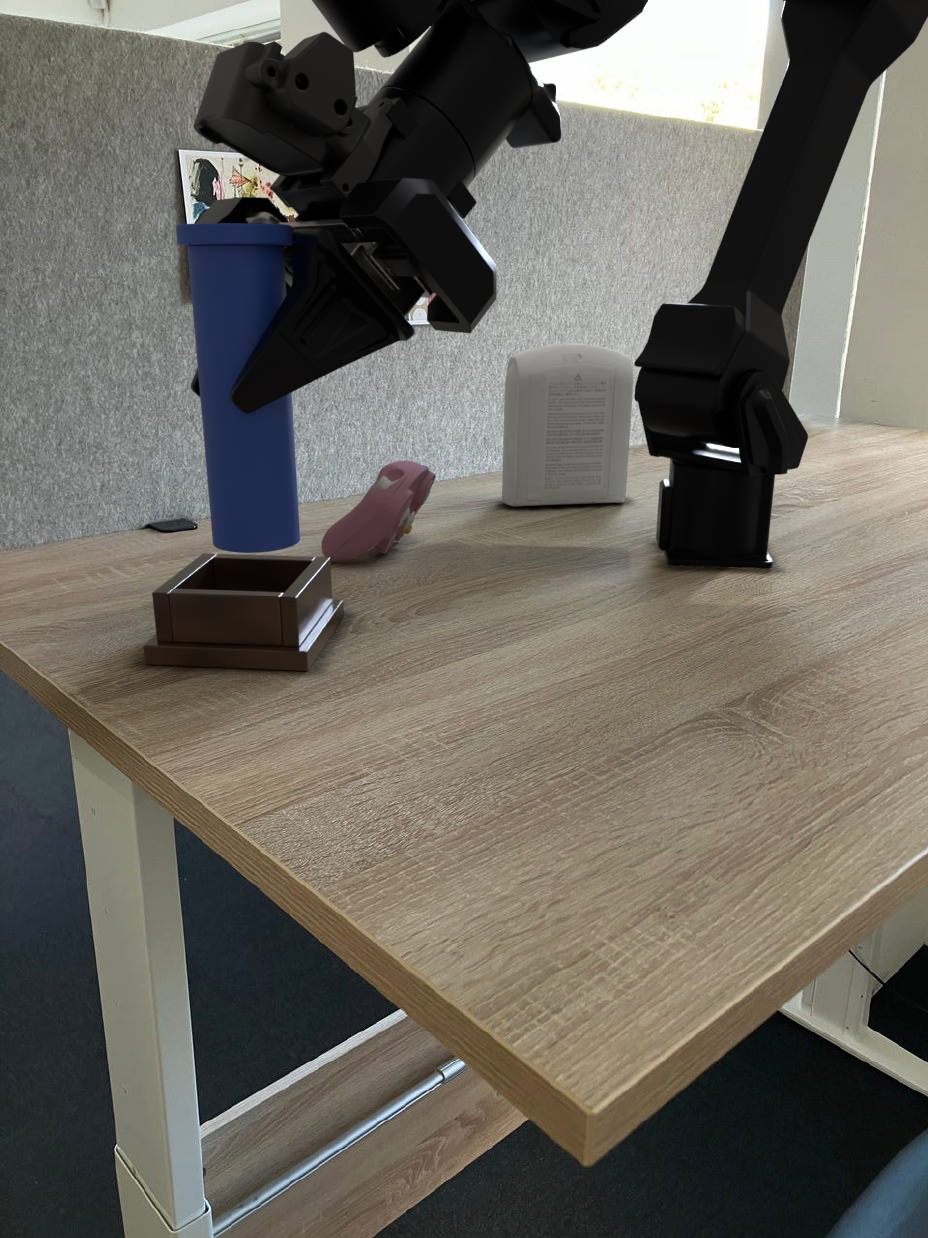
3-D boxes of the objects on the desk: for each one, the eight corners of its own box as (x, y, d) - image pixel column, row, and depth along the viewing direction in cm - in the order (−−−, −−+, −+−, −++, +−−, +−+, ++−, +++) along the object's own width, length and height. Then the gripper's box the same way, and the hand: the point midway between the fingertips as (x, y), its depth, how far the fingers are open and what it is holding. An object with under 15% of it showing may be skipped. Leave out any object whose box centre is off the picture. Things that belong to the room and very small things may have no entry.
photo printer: (615, 493, 85) (622, 340, 81) (634, 504, 81) (643, 344, 77) (495, 499, 83) (497, 342, 79) (509, 511, 79) (512, 346, 75)
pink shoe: (374, 590, 65) (421, 495, 63) (312, 555, 65) (356, 459, 63) (412, 549, 74) (455, 466, 72) (357, 519, 74) (398, 434, 72)
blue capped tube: (328, 535, 49) (314, 225, 44) (267, 560, 45) (244, 222, 40) (247, 524, 51) (225, 227, 46) (182, 547, 47) (150, 224, 42)
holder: (344, 616, 56) (342, 554, 55) (307, 671, 48) (303, 601, 47) (202, 611, 57) (197, 550, 55) (144, 664, 49) (137, 595, 48)
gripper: (217, 20, 49) (9, 263, 47) (431, -79, 35) (148, 264, 33) (364, 201, 56) (190, 421, 54) (593, 180, 42) (369, 479, 40)
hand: (217, 400), depth 45 cm, fingers closed on blue capped tube, 4 cm apart
